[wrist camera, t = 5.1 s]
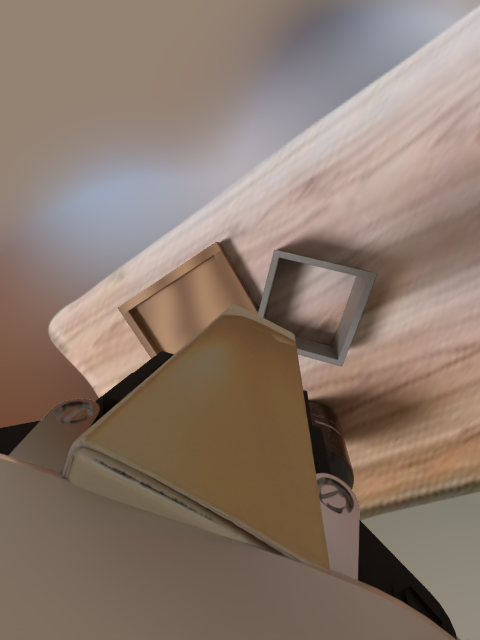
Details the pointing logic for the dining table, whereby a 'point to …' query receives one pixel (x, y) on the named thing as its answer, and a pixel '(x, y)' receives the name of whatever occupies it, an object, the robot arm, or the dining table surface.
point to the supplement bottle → (333, 442)
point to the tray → (186, 301)
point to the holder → (350, 315)
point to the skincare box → (216, 441)
